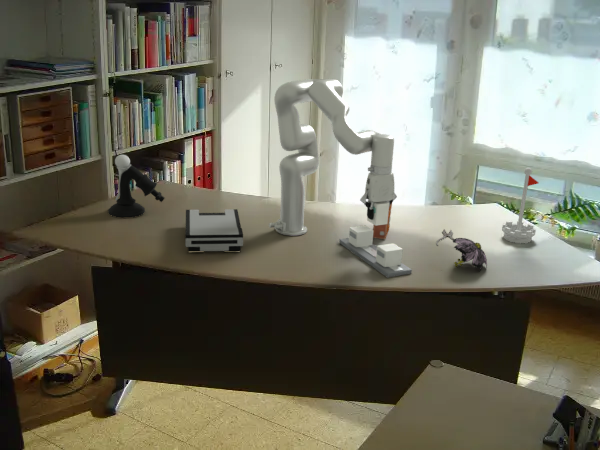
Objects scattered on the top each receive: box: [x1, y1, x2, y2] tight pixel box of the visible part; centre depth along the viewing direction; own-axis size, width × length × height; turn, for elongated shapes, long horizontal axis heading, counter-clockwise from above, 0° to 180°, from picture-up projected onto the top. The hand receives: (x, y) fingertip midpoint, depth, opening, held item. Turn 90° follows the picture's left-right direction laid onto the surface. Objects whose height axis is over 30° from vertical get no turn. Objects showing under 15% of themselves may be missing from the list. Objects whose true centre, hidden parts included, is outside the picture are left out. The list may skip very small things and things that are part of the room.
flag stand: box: [501, 167, 539, 244], centre depth 278 cm, size 13×13×30 cm
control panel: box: [372, 202, 393, 240], centre depth 278 cm, size 21×7×15 cm
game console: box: [184, 208, 244, 252], centre depth 267 cm, size 21×32×8 cm, turn 9°
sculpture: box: [107, 154, 165, 218], centre depth 290 cm, size 15×24×25 cm, turn 94°
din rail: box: [347, 237, 403, 272], centre depth 257 cm, size 4×34×1 cm, turn 26°
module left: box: [348, 225, 374, 247], centre depth 264 cm, size 7×6×6 cm
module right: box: [376, 243, 404, 267], centre depth 247 cm, size 7×6×6 cm
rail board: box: [338, 237, 413, 279], centre depth 257 cm, size 10×35×2 cm, turn 26°
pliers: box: [435, 228, 460, 247], centre depth 279 cm, size 10×1×20 cm
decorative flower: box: [452, 237, 488, 273], centre depth 251 cm, size 14×12×15 cm
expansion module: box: [366, 201, 389, 226], centre depth 251 cm, size 5×6×8 cm
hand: (377, 217), depth 252 cm, fingers closed on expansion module, 5 cm apart
